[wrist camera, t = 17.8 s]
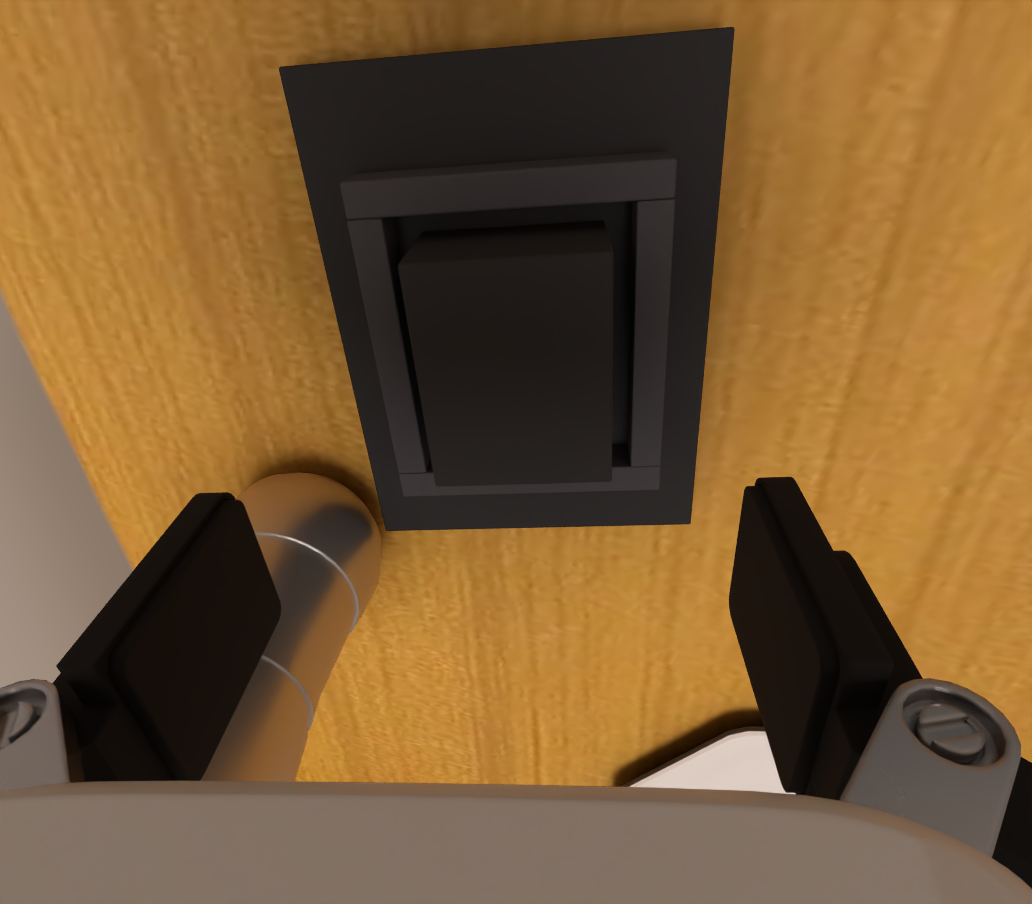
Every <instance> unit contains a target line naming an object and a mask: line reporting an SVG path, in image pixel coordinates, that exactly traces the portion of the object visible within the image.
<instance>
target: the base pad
mask: <svg viewBox="0 0 1032 904" xmlns="http://www.w3.org/2000/svg"><path fill="white" fill-rule="evenodd" d="M733 40H734V28H733V27H726V28H715V29H703V30H692V31H681V32H669V33H658V34H647V35H635V36H624V37H613V38H601V39H590V40H579V41H567V42H556V43H545V44H533V45H522V46H511V47H499V48H488V49H477V50H465V51H454V52H443V53H431V54H420V55H409V56H397V57H386V58H375V59H363V60H352V61H341V62H329V63H318V64H306V65H295V66H284V67H280V68H279V71H280V76H281V80H282V84H283V89H284V93H285V97H286V102H287V106H288V110H289V114H290V119H291V123H292V127H293V132H294V136H295V140H296V145H297V149H298V153H299V158H300V162H301V166H302V171H303V175H304V179H305V184H306V188H307V192H308V196H309V201H310V205H311V209H312V214H313V218H314V222H315V227H316V231H317V235H318V240H319V244H320V248H321V253H322V257H323V261H324V265H325V270H326V274H327V278H328V283H329V287H330V291H331V296H332V300H333V304H334V309H335V313H336V317H337V322H338V326H339V330H340V335H341V339H342V343H343V347H344V352H345V356H346V360H347V365H348V369H349V373H350V378H351V382H352V386H353V391H354V395H355V399H356V404H357V408H358V412H359V416H360V421H361V425H362V429H363V434H364V438H365V442H366V447H367V451H368V455H369V460H370V464H371V468H372V473H373V477H374V481H375V485H376V490H377V494H378V498H379V503H380V507H381V511H382V516H383V520H384V524H385V529H386V531H402V530H448V529H493V528H538V527H583V526H628V525H673V524H690V522H691V512H692V500H693V489H694V478H695V467H696V455H697V444H698V433H699V422H700V411H701V399H702V388H703V377H704V366H705V354H706V343H707V332H708V321H709V310H710V298H711V287H712V276H713V265H714V254H715V242H716V231H717V220H718V209H719V197H720V186H721V175H722V164H723V153H724V141H725V130H726V119H727V108H728V97H729V85H730V74H731V63H732V52H733ZM587 221H604V222H605V224H606V228H607V232H608V235H609V239H610V243H611V247H612V250H613V254H614V255H613V404H612V480H611V481H610V482H590V483H555V484H519V485H483V486H447V487H437V486H436V485H435V481H434V475H433V469H432V463H431V457H430V452H429V446H428V440H427V434H426V428H425V422H424V417H423V411H422V405H421V399H420V393H419V387H418V382H417V376H416V370H415V364H414V358H413V352H412V347H411V341H410V335H409V329H408V323H407V317H406V312H405V306H404V300H403V294H402V288H401V282H400V277H399V271H398V264H399V263H400V261H401V260H402V259H403V257H404V256H405V255H406V253H407V252H408V251H409V249H410V248H411V247H412V245H413V244H414V243H415V241H416V240H417V239H418V237H419V236H420V235H421V233H423V232H430V231H445V230H461V229H477V228H493V227H509V226H524V225H540V224H556V223H572V222H587Z"/></svg>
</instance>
